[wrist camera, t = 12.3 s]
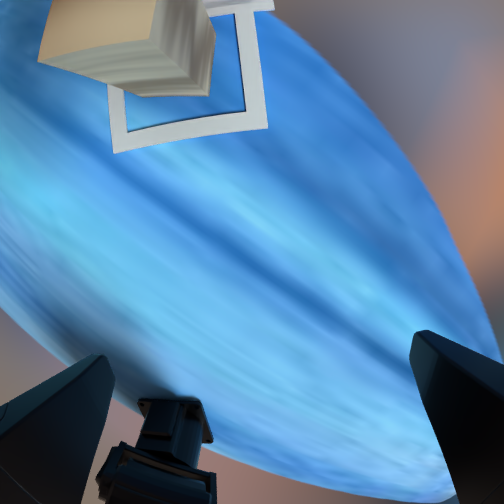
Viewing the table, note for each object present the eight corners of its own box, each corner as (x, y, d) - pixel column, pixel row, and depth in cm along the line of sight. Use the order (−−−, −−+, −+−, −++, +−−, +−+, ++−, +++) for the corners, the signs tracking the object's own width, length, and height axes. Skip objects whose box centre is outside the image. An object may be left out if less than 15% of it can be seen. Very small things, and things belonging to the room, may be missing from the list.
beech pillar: (209, 96, 17) (148, 39, 7) (142, 97, 17) (37, 61, 7) (216, 34, 16) (173, -62, 5) (151, 37, 16) (65, -34, 5)
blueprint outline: (290, 126, 18) (290, 126, 18) (114, 153, 19) (113, 153, 18) (255, -87, 11) (254, -88, 11) (113, -56, 12) (112, -57, 12)
